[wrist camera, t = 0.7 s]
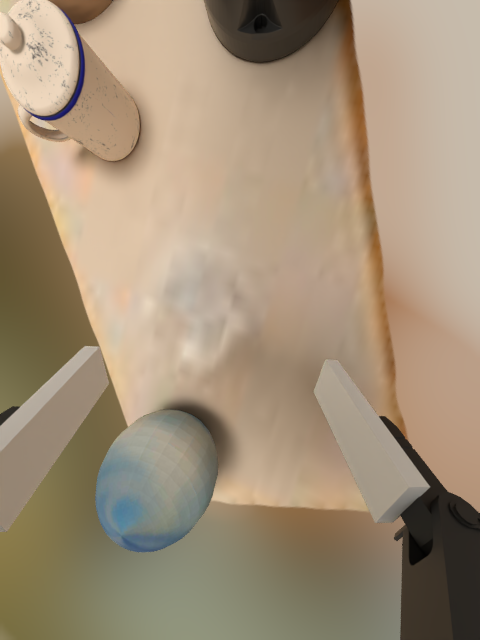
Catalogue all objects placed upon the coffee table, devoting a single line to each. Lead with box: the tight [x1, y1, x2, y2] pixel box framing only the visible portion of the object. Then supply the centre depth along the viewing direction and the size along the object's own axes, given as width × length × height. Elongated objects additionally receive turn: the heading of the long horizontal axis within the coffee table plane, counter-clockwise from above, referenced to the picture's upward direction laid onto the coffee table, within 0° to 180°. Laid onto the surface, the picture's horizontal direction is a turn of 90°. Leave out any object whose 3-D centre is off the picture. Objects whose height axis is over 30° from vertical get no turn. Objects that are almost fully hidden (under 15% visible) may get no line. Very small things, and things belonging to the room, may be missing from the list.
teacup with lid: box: [0, 0, 140, 161], centre depth 23 cm, size 12×9×12 cm
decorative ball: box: [95, 410, 218, 552], centre depth 28 cm, size 15×15×15 cm
